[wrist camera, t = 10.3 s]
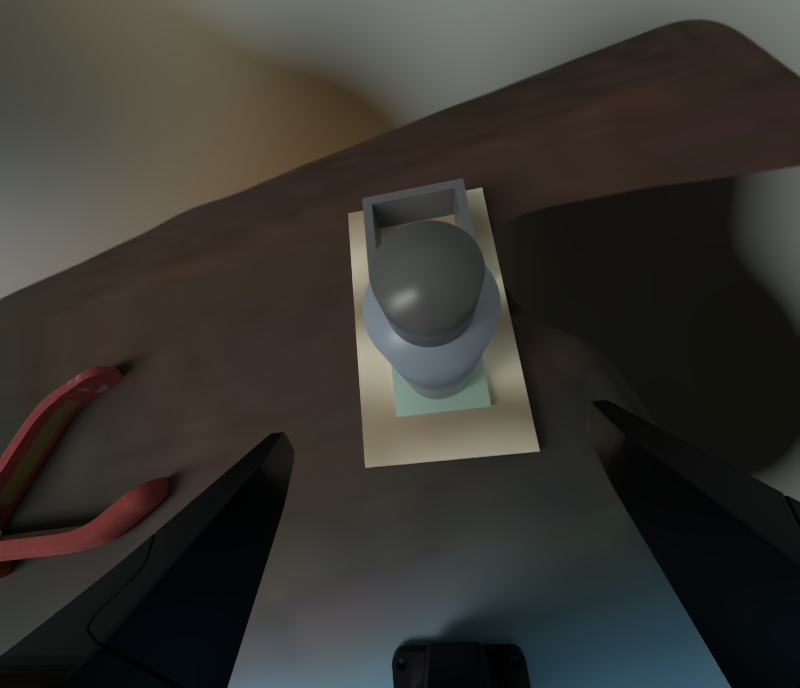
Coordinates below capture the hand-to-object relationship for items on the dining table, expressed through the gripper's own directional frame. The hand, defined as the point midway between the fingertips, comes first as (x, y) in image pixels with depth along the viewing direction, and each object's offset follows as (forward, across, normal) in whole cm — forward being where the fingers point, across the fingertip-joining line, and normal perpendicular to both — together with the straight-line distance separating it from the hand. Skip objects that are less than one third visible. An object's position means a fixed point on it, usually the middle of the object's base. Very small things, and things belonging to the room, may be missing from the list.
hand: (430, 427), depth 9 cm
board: (+12, 0, +2) cm, 12 cm away
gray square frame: (+15, 0, -2) cm, 15 cm away
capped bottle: (+9, 0, +4) cm, 10 cm away
